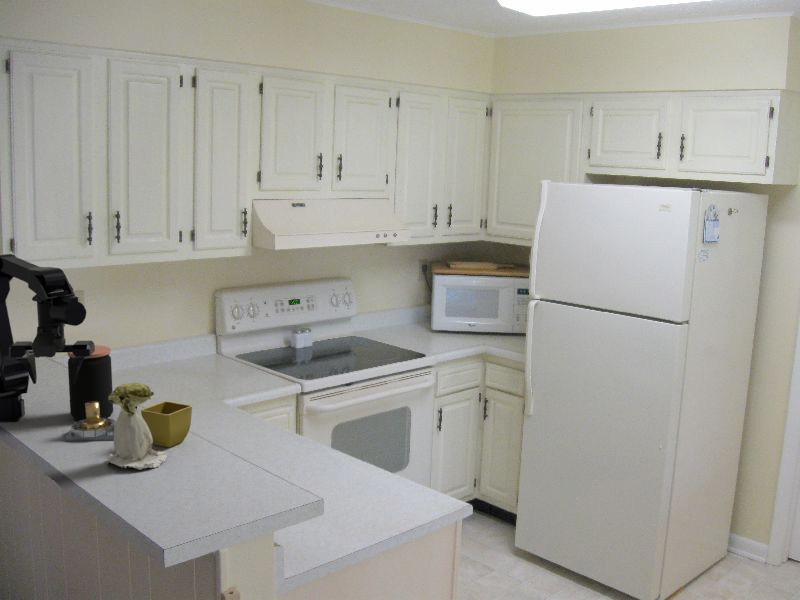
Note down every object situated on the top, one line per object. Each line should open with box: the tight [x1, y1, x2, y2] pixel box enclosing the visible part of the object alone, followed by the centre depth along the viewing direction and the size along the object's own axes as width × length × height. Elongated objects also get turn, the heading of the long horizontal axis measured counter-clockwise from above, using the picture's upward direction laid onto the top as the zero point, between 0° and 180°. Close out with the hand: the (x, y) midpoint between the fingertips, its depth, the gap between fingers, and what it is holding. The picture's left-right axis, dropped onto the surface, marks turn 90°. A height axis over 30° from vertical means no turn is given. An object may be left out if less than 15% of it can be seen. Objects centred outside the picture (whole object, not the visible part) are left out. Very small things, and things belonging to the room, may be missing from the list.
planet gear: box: [80, 401, 108, 430], centre depth 211 cm, size 6×6×7 cm
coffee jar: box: [66, 344, 114, 422], centre depth 224 cm, size 11×11×18 cm
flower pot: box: [140, 400, 193, 448], centre depth 205 cm, size 9×9×9 cm
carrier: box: [65, 417, 117, 442], centre depth 212 cm, size 19×10×2 cm, turn 96°
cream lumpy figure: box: [106, 382, 168, 471], centre depth 191 cm, size 12×13×18 cm
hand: (54, 383), depth 209 cm, fingers open, 9 cm apart
